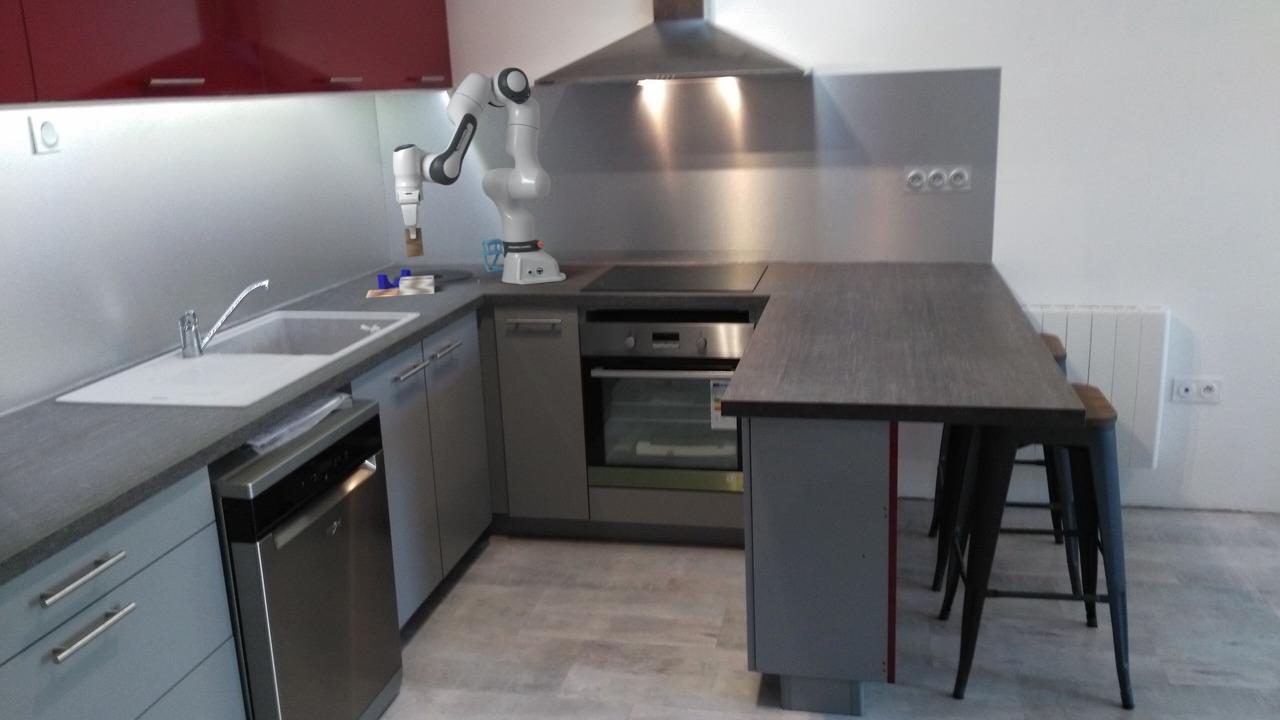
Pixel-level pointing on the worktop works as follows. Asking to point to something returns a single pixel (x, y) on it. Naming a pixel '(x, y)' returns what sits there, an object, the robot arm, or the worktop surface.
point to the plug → (414, 243)
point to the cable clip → (385, 283)
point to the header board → (408, 287)
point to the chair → (491, 252)
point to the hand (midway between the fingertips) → (413, 237)
